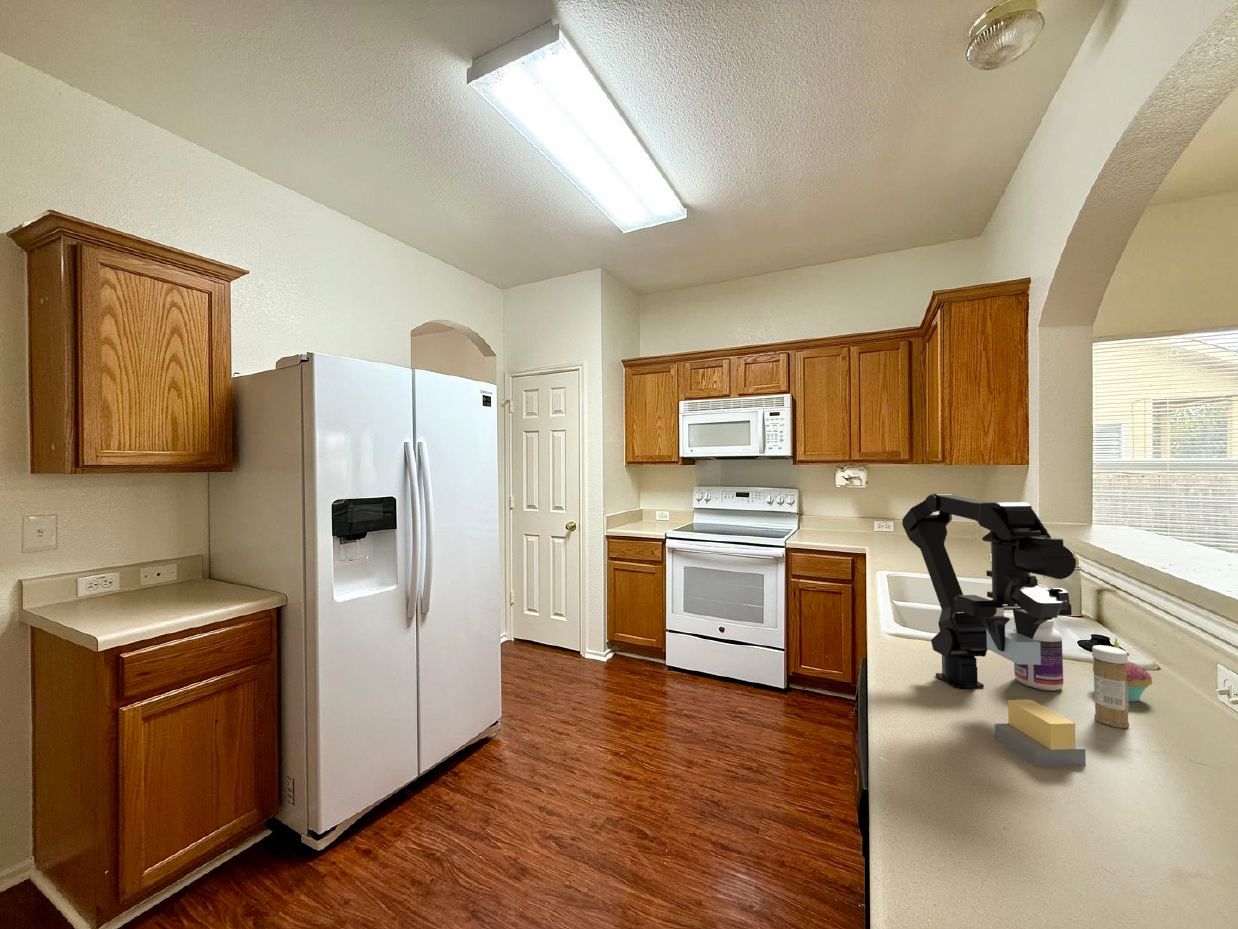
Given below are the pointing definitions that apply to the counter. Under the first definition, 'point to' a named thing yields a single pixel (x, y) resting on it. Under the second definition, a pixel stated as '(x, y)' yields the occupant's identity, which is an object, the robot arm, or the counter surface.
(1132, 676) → the cupcake
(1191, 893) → the counter surface
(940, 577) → the robot arm
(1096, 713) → the sprinkles bottle
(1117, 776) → the counter surface
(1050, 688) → the pill bottle
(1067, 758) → the base slab
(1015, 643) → the blue brick
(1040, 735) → the ochre brick
